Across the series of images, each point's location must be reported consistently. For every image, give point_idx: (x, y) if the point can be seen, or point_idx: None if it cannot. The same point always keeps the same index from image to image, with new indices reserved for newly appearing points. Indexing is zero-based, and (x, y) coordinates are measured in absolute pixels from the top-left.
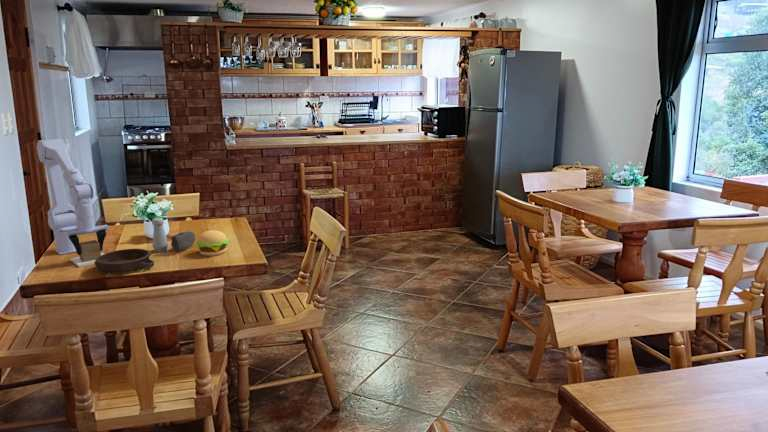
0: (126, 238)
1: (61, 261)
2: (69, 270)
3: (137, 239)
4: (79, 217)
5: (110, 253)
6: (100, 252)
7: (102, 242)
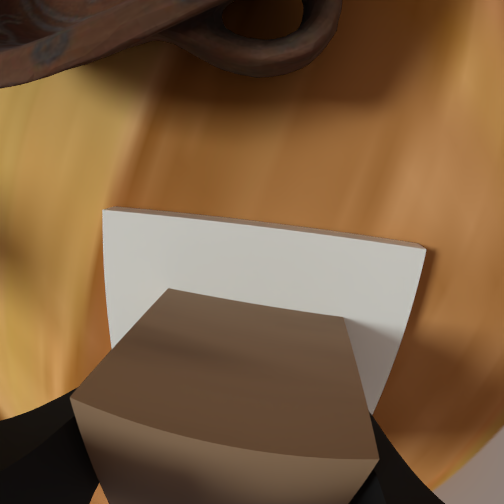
0: None
1: None
2: (497, 217)
3: None
4: None
5: (93, 16)
6: (140, 320)
7: (44, 411)
